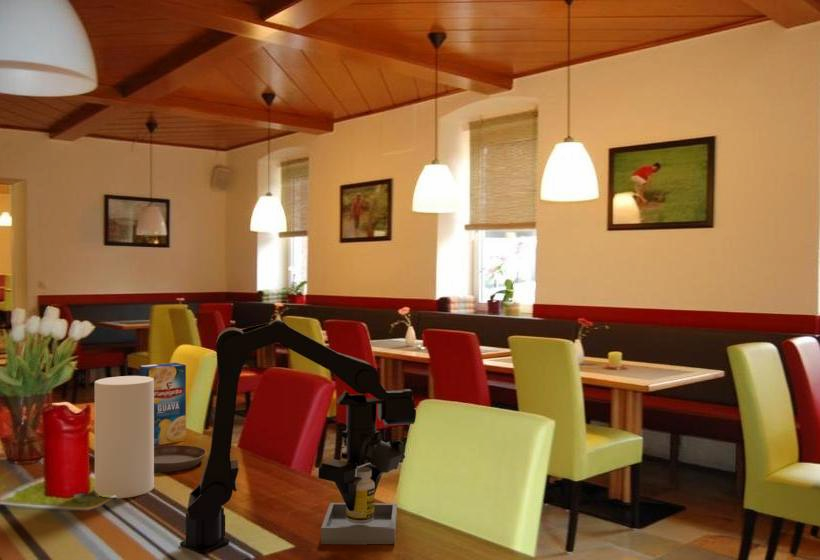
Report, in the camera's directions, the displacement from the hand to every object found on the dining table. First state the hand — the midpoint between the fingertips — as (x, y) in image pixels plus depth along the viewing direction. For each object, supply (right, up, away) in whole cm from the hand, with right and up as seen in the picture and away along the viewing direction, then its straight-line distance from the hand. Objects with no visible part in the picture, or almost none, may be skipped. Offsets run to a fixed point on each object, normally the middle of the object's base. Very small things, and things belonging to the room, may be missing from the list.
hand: (360, 506), depth 137 cm
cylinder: (-55, -4, +24) cm, 60 cm away
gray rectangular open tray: (0, -5, 0) cm, 5 cm away
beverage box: (-62, -3, +67) cm, 91 cm away
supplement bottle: (0, -3, 0) cm, 3 cm away
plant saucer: (-52, -4, +44) cm, 68 cm away
